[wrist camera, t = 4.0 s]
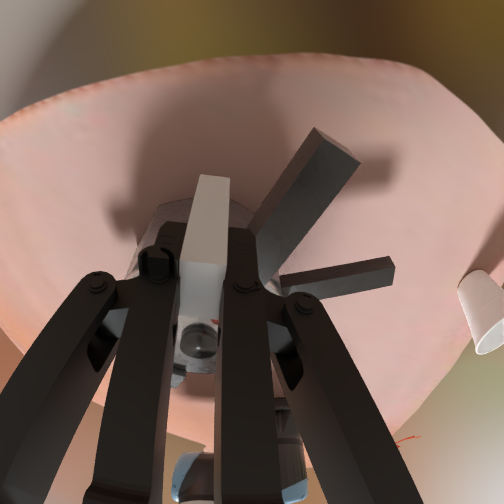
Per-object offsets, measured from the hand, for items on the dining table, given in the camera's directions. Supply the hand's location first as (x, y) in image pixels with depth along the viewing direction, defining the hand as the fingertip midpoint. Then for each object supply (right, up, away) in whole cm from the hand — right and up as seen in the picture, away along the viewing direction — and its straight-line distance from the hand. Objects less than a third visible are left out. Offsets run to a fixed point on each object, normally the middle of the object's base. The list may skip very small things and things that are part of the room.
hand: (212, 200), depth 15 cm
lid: (-1, -6, +9) cm, 11 cm away
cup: (+37, -7, +25) cm, 45 cm away
